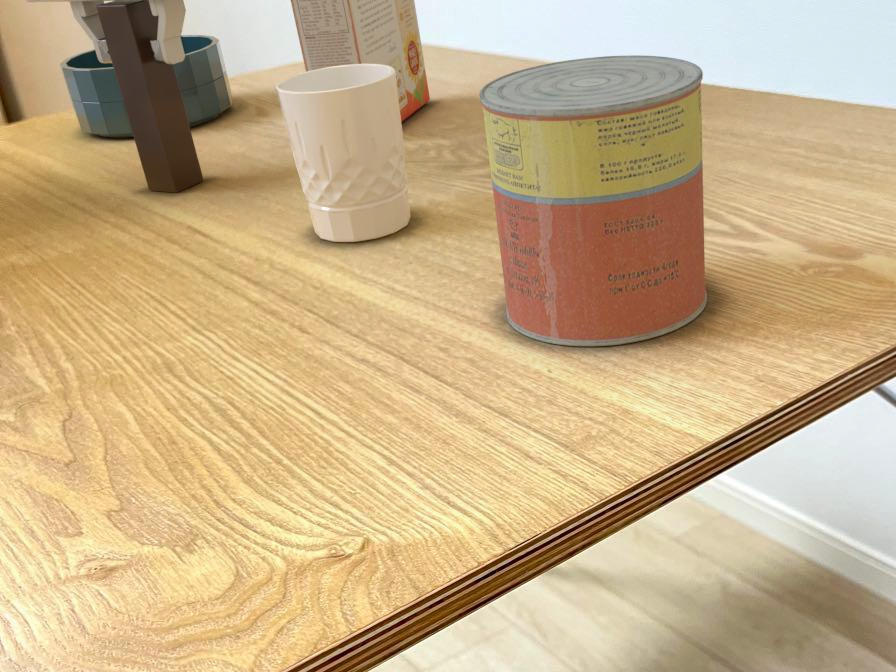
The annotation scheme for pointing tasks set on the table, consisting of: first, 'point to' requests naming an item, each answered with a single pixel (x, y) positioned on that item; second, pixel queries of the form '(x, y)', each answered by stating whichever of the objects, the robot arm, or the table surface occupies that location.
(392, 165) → the white cup
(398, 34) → the cracker box
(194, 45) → the bowl
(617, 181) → the canned food
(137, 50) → the stick
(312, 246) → the table surface
